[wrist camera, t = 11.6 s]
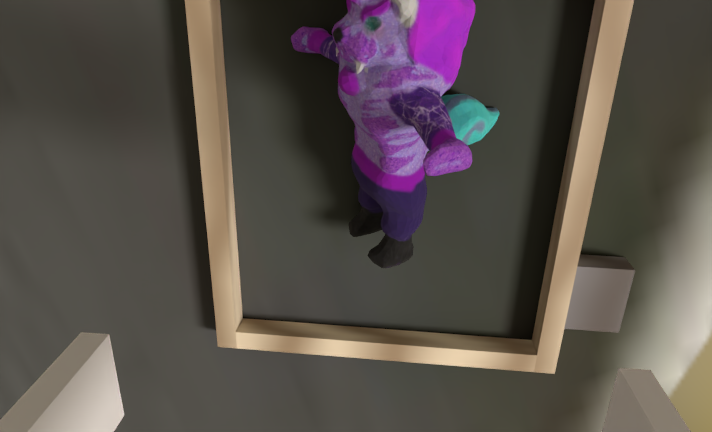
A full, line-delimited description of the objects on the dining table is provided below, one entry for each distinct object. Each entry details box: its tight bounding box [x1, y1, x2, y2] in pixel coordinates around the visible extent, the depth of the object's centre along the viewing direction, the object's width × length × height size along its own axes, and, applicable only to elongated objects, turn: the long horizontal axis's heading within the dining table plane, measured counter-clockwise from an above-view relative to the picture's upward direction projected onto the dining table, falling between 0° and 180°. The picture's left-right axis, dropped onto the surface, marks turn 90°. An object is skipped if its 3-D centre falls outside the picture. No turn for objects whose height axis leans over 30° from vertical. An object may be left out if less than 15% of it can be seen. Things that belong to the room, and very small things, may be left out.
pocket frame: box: [185, 0, 635, 374], centre depth 29 cm, size 23×22×2 cm
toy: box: [291, 0, 499, 268], centre depth 25 cm, size 12×10×15 cm
